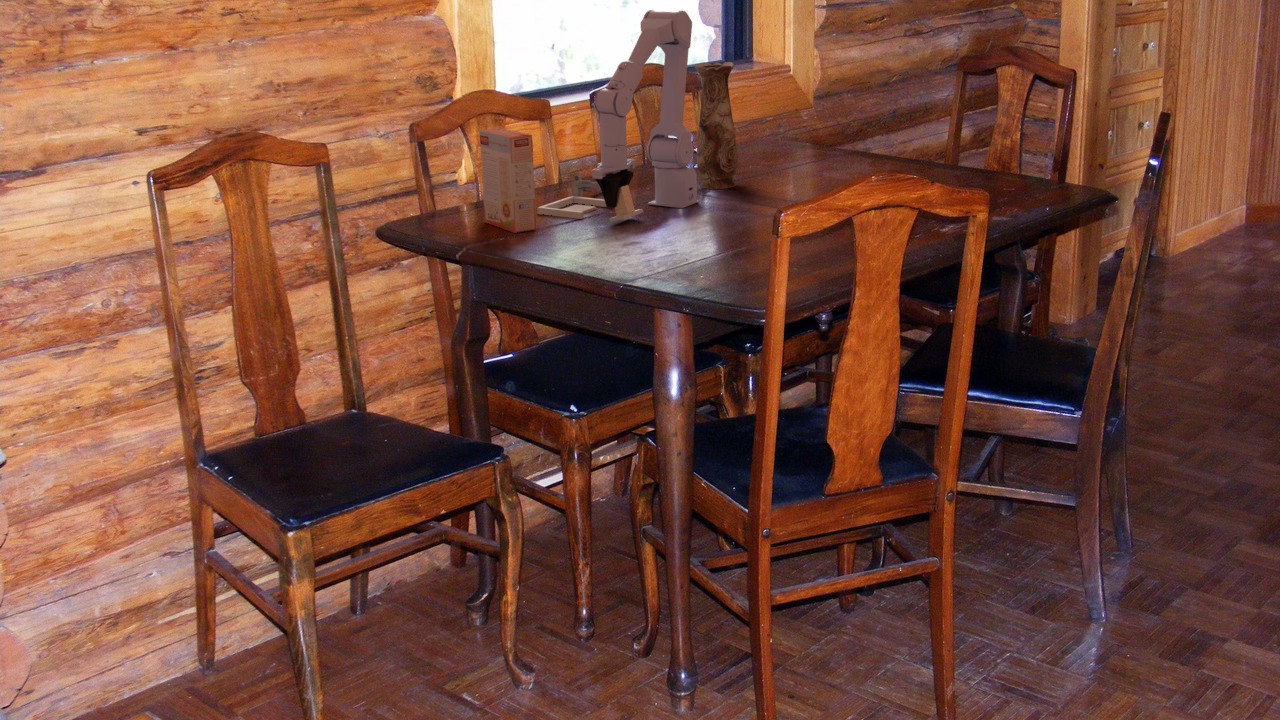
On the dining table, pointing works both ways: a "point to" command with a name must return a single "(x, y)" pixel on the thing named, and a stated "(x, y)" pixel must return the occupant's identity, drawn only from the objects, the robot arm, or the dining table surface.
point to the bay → (553, 207)
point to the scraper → (624, 205)
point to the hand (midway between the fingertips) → (615, 205)
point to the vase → (716, 128)
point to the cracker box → (508, 179)
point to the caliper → (582, 186)
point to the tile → (581, 208)
